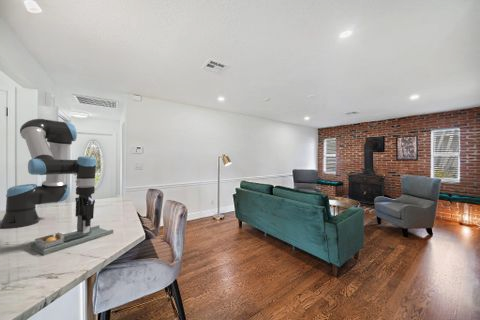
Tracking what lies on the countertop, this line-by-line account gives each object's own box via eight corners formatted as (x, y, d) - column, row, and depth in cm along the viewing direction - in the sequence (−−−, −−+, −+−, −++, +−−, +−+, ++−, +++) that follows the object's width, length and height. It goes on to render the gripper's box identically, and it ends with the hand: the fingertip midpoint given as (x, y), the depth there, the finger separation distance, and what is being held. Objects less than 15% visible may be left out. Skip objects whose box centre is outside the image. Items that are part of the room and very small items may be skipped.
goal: (34, 247, 84) (34, 238, 84) (52, 242, 89) (52, 234, 90) (44, 253, 80) (45, 243, 80) (62, 247, 85) (63, 238, 85)
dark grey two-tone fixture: (55, 241, 88) (56, 218, 89) (87, 232, 100) (88, 212, 101) (60, 244, 86) (61, 220, 86) (92, 234, 98) (93, 213, 98)
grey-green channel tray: (29, 247, 84) (29, 243, 84) (98, 228, 109) (98, 225, 109) (43, 255, 78) (44, 250, 78) (113, 233, 103) (113, 229, 103)
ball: (56, 236, 89) (52, 245, 87) (46, 235, 85) (41, 245, 84) (60, 237, 87) (56, 247, 85) (50, 237, 83) (45, 247, 82)
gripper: (68, 185, 97) (65, 230, 97) (86, 188, 90) (84, 237, 90) (85, 184, 104) (83, 226, 104) (103, 187, 97) (101, 232, 96)
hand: (83, 231), depth 97 cm, fingers closed on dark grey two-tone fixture, 4 cm apart
